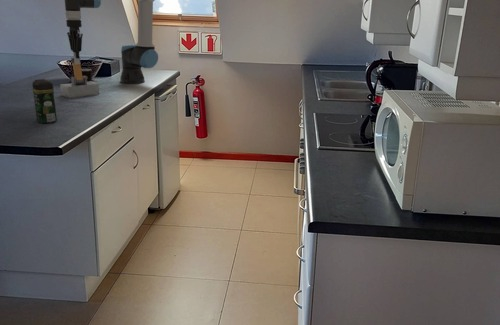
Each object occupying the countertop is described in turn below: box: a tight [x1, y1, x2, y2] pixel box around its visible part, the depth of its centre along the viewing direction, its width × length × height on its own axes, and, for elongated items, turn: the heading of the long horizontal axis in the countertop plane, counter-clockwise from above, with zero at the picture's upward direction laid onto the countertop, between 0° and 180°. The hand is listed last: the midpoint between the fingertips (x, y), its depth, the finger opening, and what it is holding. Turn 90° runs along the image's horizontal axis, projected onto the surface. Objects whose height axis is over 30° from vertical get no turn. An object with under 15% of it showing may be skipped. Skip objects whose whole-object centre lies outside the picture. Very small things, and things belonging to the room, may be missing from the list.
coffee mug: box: [69, 68, 93, 81], centre depth 295 cm, size 12×9×10 cm
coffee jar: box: [32, 78, 58, 124], centre depth 217 cm, size 10×8×19 cm
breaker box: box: [59, 76, 100, 99], centre depth 273 cm, size 9×18×10 cm, turn 135°
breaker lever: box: [70, 57, 84, 84], centre depth 270 cm, size 2×4×14 cm, turn 135°
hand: (77, 64), depth 268 cm, fingers closed
